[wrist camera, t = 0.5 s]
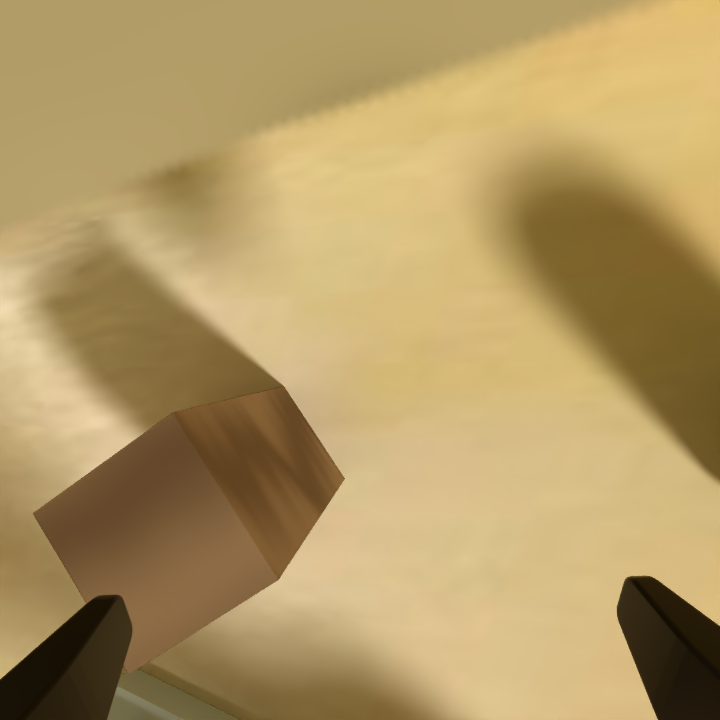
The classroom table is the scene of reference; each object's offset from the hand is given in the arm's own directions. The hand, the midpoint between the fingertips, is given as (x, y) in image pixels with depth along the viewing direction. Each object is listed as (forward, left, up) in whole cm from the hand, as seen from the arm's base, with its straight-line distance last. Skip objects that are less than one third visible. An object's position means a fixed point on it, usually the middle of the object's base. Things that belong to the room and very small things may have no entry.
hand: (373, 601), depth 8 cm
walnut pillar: (+4, +6, -14) cm, 15 cm away
